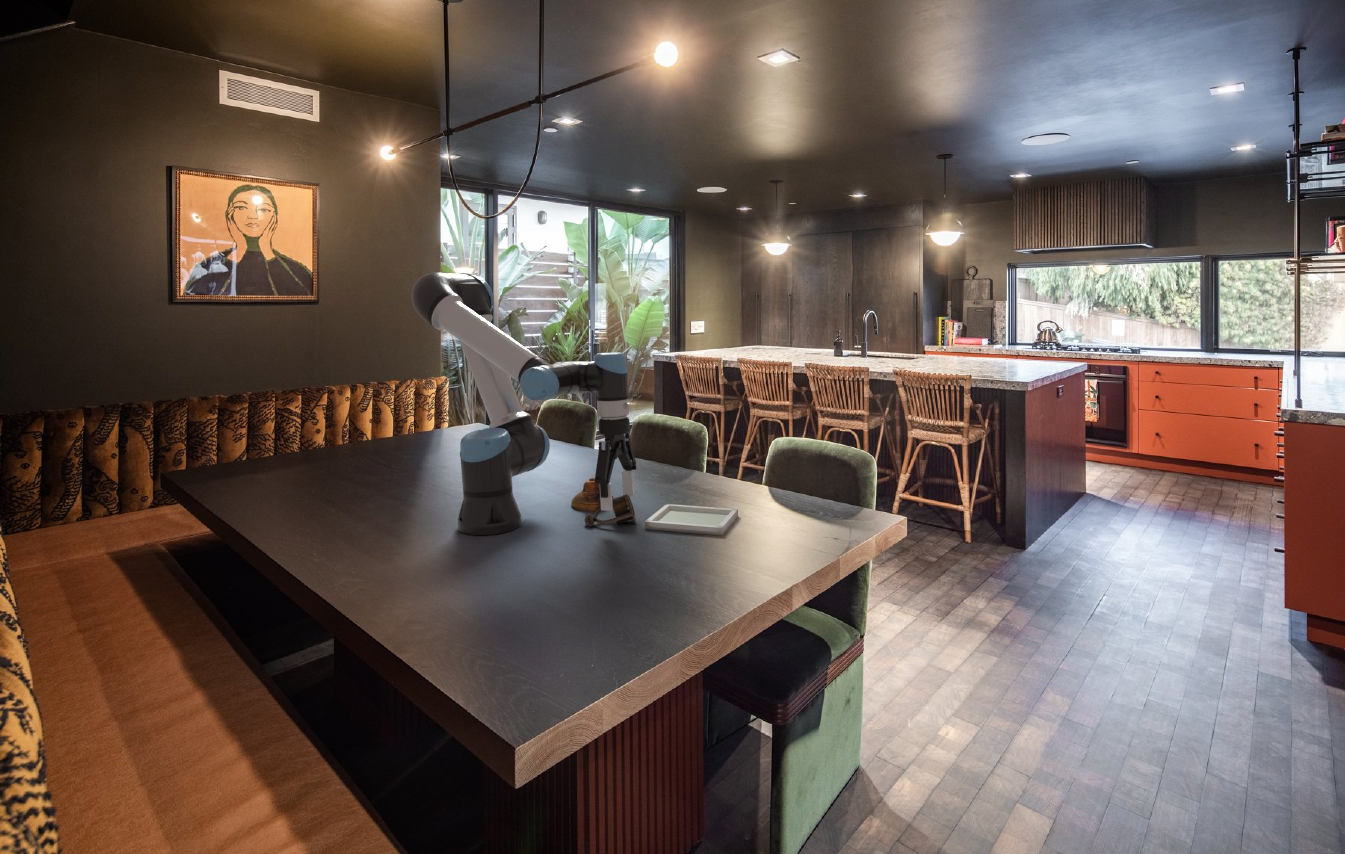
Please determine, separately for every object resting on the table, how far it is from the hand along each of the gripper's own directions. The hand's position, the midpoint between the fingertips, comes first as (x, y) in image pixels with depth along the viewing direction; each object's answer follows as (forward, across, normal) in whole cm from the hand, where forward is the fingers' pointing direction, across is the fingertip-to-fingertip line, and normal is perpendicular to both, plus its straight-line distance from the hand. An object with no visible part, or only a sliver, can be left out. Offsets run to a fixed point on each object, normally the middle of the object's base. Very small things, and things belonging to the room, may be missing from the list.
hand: (618, 502), depth 175 cm
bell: (+5, +14, +13) cm, 20 cm away
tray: (+5, +5, -17) cm, 19 cm away
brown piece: (+5, 0, +2) cm, 6 cm away
